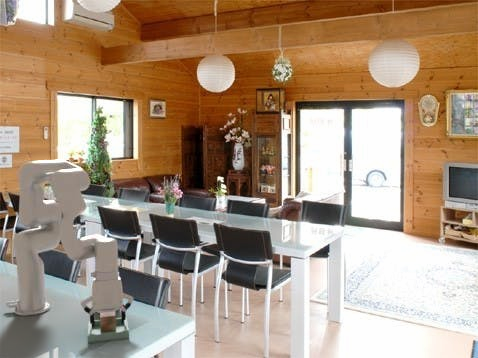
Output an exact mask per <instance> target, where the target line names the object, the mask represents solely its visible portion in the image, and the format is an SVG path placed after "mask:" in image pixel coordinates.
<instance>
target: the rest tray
mask: <svg viewBox="0 0 478 358" xmlns="http://www.w3.org/2000/svg"><path fill="white" fill-rule="evenodd" d="M87 326H88V329H87V344H95V343H103V342H113V341H120V339H122V340H127V339H126V338H129V339H130V332H129V331H130V330H129V323H128V318H127V316H126V320H124V323H123V324H122V322H121V317H116V331H115V332H106V333H101V329H100V319H95V326H94V327H92V324H90V320H88V325H87Z"/></svg>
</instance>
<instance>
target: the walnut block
mask: <svg viewBox="0 0 478 358" xmlns="http://www.w3.org/2000/svg"><path fill="white" fill-rule="evenodd" d="M99 317H100V318H99V320H100V329H101V333H106V332H115V331H116V318H117V316H116V311H113V312H103V313H99Z"/></svg>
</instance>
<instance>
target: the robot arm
mask: <svg viewBox="0 0 478 358" xmlns="http://www.w3.org/2000/svg"><path fill="white" fill-rule="evenodd" d="M89 176H90V175H89V174H88V173H87V171H86V170H84V168H81V167H80V166H78V165H76V164H74V163H71V162H69V161H67V160H64V159H50V160H49V159H48V160H47V159H44V160H32V161H28V162H25V163H23V164H21V166H20V167H19V169H18V173H17V180H18V185H19V202H18V203H19V204H18V221H19V224H20V226H22V227H23V228H30V229H25V230H22V231H20V232H18V233H16V234H15V235H14V237H13V240H12V245H13V249H14V253H15V254H14V255H15V258H16V259H15V260H16V272H17V290H18V291H17V292H18V299H16V300H9V301H6V304H5V305H6V307H8V308H9V309H10V308H14V314H16V315H18V316H22V317H23V316H34V315H39V314H43V313H45V312H47V311H48V310H50V308H51V305H50V303H49V302H47V301H46V288H45V287H46V285H45V283H46V282H45V263H44V261H43V259H42V258H41V257H40V256H39V254H40V253H44V252H49V251H51V250H54V249H56V248H57V247H59V245H60V242H61V245H62V247H63V250H64V252H65V254H66V255H67V257H68V258H69V259H70V260H72V261H74V262H80V261H84V260H88V259H91V258H94V271H93V272H90V277H91V278H93V279H92V280H93V281H92V284H91V285H92V286H91V295H90V296H89V297H88V298H85V299H83V300H82V301H80V305H81V307H82V308H83V310H84V312H86V313H87V314H88V315H89V321H90V324H92V327H94V326H95V320H96V319H95V312H96V310H107V309H116V308H119V309H120V314H121V315H120V318H121V322H122V324H123V323H124V320H126V317H127V316H126V314H127V310H128V309H129V308H130V307H131V306H132V303H133V301H134V297H133V296H132V295H129V294H127V293H124V291H123V283H122V279H121V277H120V275H119V276H118V272H119V255H118V254H119V251H118V248H119V247H118V240H117V239H116V238H112V237H105V236H103V235H102V234H92V235H87V236H83V237H82V236H81V237H78V238H77V235H76V232H75V230H74V221H75V219H76V218H77V217H78V216H81V214H83V213H84V212H86V209H87V206H88V205H87V203H86V201H85V199H84V196H83V195H82V191H86V190H87V189H88V188H89V187H90V184H91V179H90V177H89ZM42 184H49V185H50V188H51V190H52V192H53V194H54V197H55V199H56V200H54V199H53V200H52V199H47V200H45V190H44V187H43V185H42ZM41 226H42V227H41ZM34 227H35V228H34ZM36 227H37V228H36ZM94 278H95V279H94ZM124 299H125V300H128V301H127V302H126V304H124ZM89 303H91V307H89V306H87V304H89Z"/></svg>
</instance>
